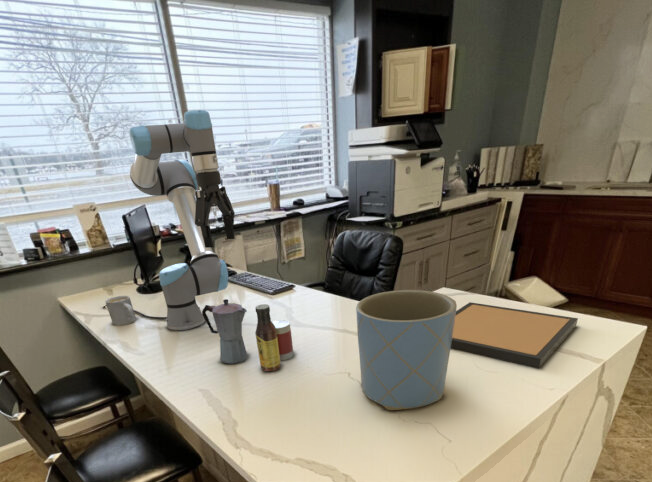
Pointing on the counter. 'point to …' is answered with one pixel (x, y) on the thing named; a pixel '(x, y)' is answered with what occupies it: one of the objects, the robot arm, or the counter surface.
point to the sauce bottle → (267, 339)
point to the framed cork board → (509, 333)
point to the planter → (405, 346)
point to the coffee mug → (120, 310)
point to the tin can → (284, 339)
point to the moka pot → (228, 330)
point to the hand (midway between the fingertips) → (220, 243)
